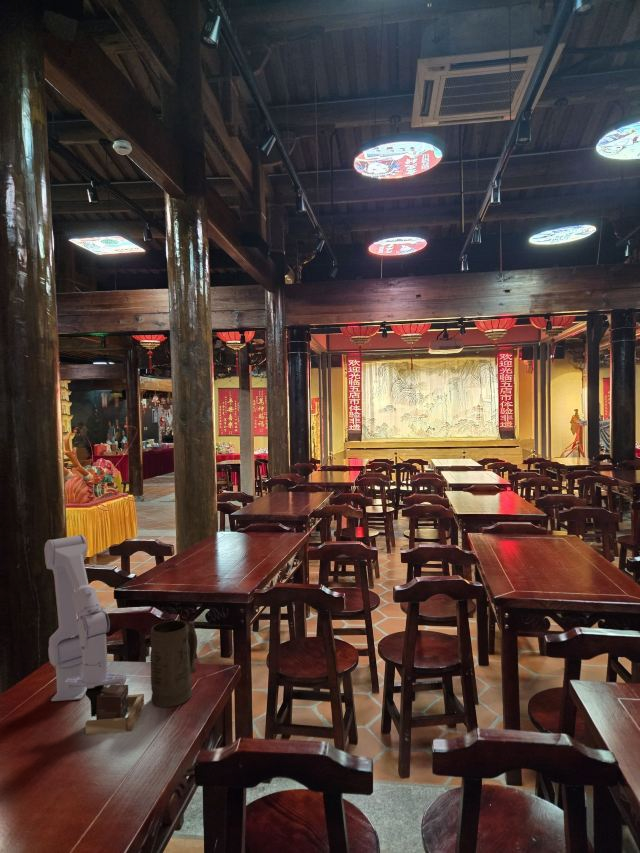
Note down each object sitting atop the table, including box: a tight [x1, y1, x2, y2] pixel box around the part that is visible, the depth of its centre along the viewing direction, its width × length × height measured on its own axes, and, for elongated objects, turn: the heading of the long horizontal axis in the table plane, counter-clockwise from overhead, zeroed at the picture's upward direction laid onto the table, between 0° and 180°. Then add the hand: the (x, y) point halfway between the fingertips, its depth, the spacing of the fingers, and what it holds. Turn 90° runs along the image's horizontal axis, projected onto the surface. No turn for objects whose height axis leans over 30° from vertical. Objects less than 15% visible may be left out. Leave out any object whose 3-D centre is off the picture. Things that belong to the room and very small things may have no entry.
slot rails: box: [85, 693, 145, 735], centre depth 134 cm, size 12×11×3 cm
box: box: [95, 684, 129, 720], centre depth 134 cm, size 6×6×7 cm
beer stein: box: [149, 619, 198, 708], centre depth 146 cm, size 15×11×20 cm
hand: (96, 714), depth 133 cm, fingers closed, pressing on box
